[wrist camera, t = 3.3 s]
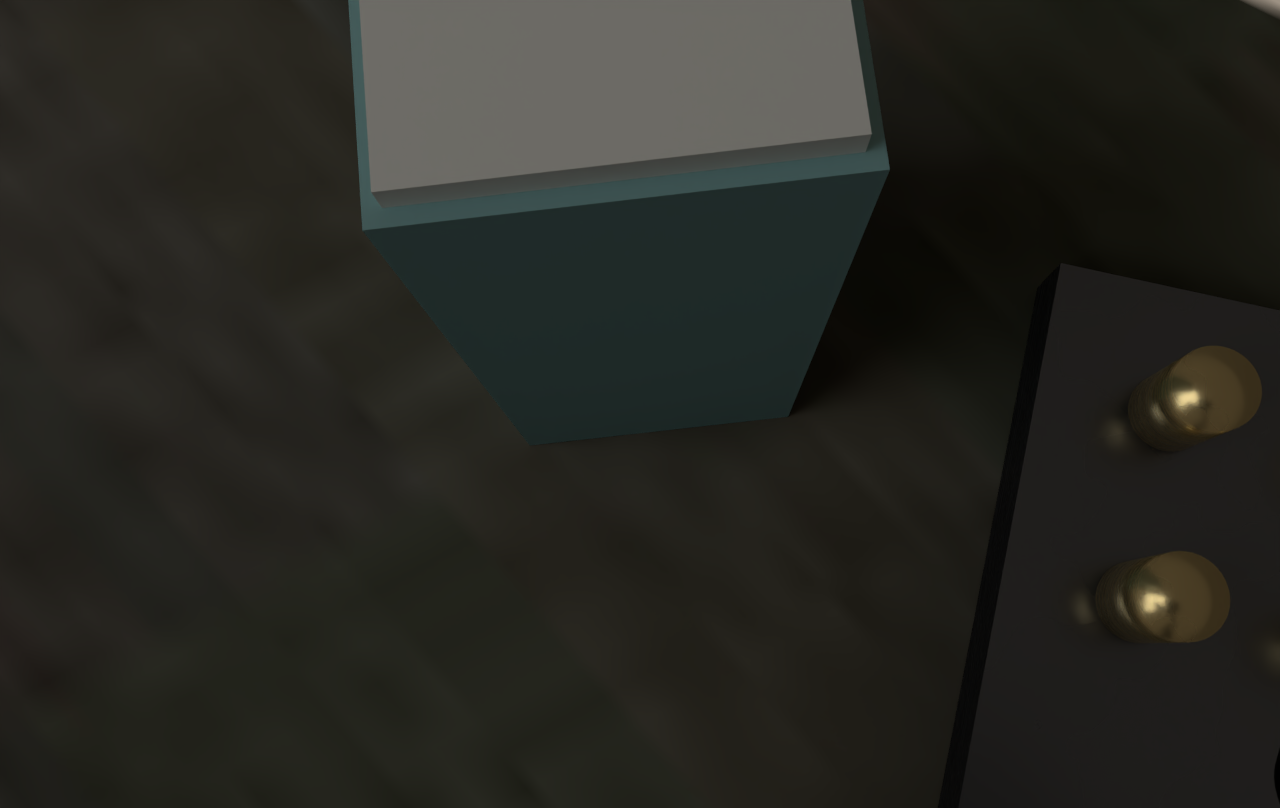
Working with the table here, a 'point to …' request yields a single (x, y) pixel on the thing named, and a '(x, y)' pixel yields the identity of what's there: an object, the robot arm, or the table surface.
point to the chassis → (1130, 561)
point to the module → (620, 195)
